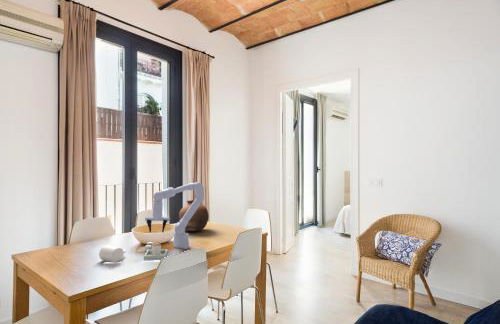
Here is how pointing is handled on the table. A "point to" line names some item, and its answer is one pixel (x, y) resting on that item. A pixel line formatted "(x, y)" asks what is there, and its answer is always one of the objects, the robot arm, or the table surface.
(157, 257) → the tray
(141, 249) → the clip board
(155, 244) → the white and orange block
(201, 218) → the pottery
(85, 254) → the table surface
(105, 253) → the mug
